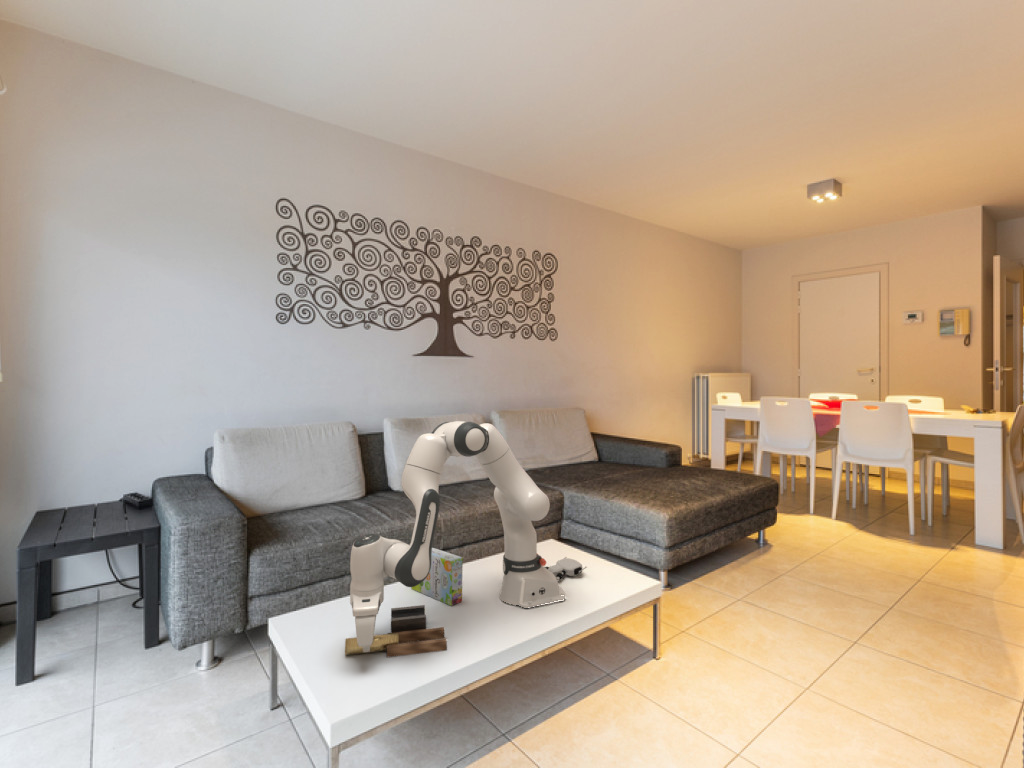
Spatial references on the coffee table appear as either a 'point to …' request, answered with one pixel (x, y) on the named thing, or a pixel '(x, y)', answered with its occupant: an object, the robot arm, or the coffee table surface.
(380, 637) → the brass rod
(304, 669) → the coffee table surface
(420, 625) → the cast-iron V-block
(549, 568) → the robot toy
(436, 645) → the copper channel
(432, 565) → the snack box
